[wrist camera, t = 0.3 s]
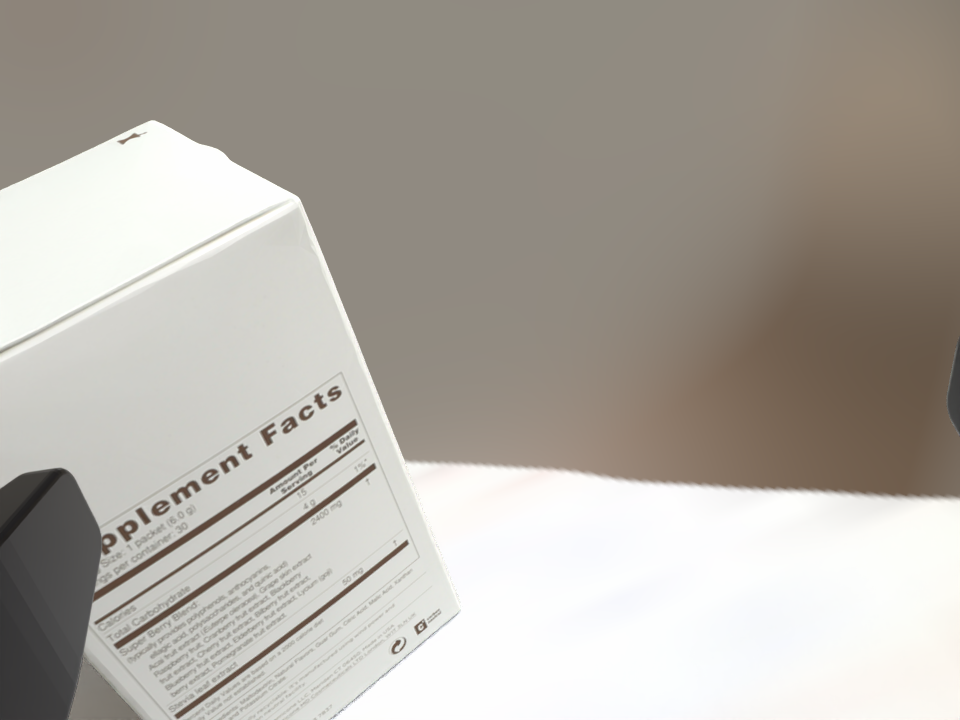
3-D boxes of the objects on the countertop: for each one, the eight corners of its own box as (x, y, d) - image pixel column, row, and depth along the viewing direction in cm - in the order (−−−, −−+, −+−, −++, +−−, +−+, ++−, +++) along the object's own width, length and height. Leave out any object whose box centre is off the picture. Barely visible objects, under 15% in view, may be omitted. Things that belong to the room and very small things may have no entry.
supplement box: (118, 622, 29) (-182, 261, 20) (333, 474, 33) (157, 109, 24) (218, 821, 23) (-156, 423, 14) (472, 612, 26) (304, 183, 17)
